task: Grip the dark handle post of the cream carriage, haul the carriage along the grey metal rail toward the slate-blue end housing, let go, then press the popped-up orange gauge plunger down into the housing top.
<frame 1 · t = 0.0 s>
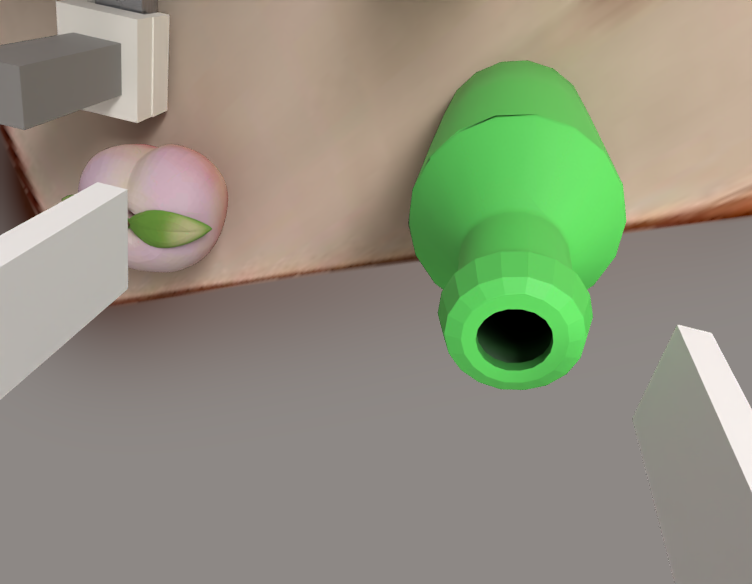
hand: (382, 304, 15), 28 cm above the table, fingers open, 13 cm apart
decorative fruit: (192, 183, 46), on the table
carriage: (72, 70, 37), point 7 cm above the table, slide at 0.0 cm
rail: (135, 5, 41), on the table
bottle: (513, 131, 41), on the table
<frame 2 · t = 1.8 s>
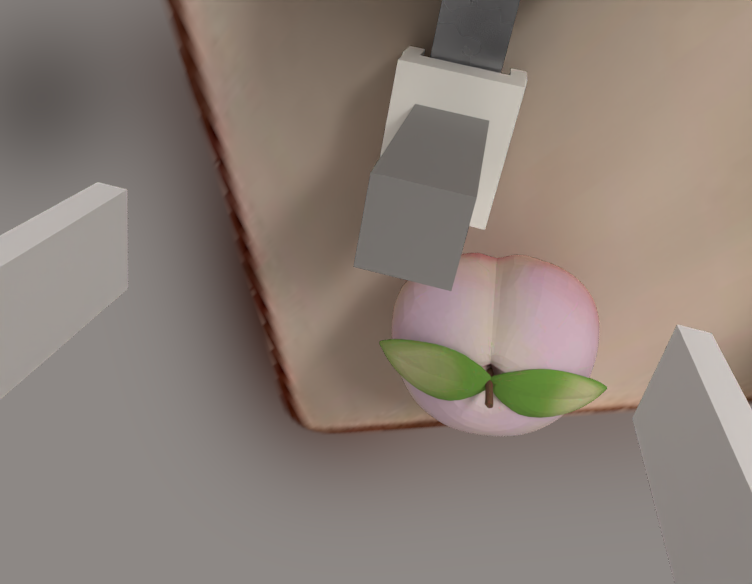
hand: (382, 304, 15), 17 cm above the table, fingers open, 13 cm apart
decorative fruit: (496, 291, 34), on the table
carriage: (436, 167, 24), point 7 cm above the table, slide at 0.0 cm
rail: (468, 56, 29), on the table
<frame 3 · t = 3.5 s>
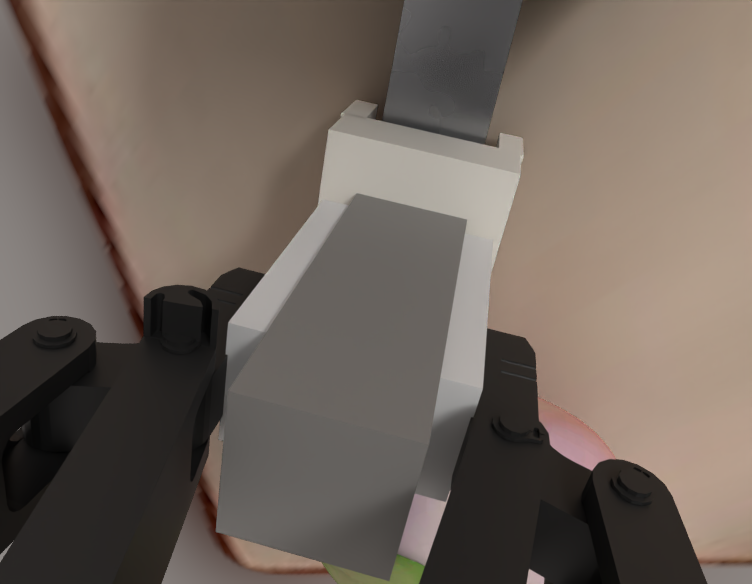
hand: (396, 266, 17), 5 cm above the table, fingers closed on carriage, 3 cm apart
decorative fruit: (482, 416, 26), on the table
carriage: (384, 300, 16), point 7 cm above the table, slide at 0.0 cm, touching gripper
rail: (440, 114, 20), on the table
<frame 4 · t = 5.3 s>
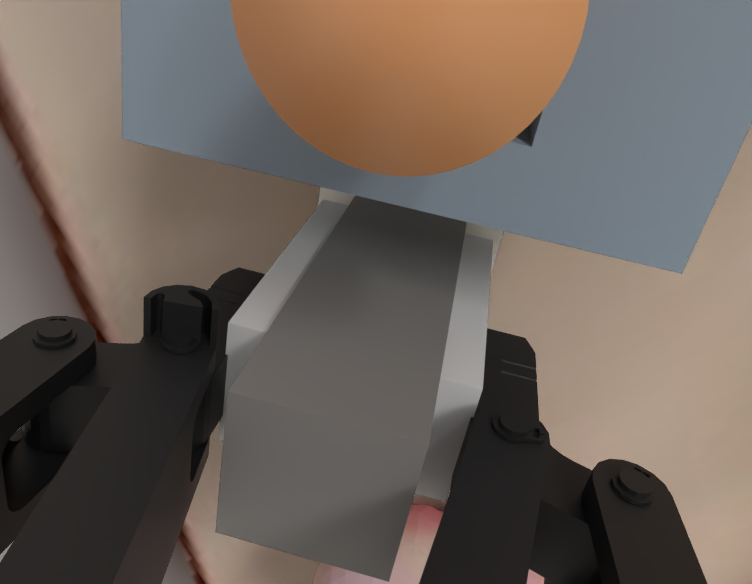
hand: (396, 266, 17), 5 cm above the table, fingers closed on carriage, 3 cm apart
decorative fruit: (447, 520, 28), on the table
carriage: (384, 300, 16), point 7 cm above the table, slide at 5.9 cm, touching gripper
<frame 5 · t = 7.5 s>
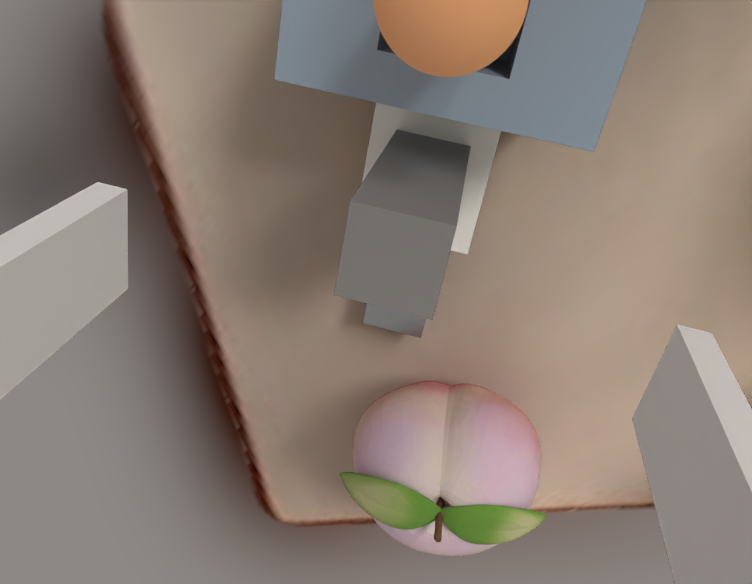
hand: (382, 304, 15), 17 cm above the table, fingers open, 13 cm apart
decorative fruit: (453, 404, 37), on the table
carriage: (418, 193, 24), point 7 cm above the table, slide at 6.0 cm
rail: (421, 206, 32), on the table
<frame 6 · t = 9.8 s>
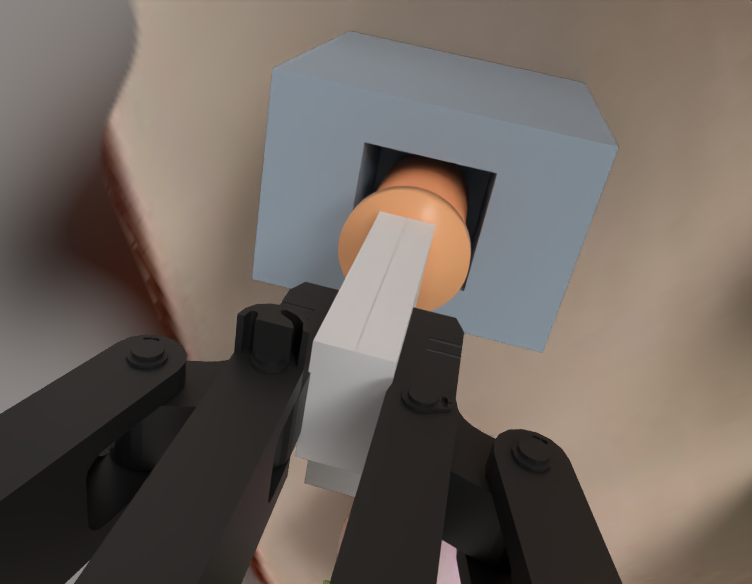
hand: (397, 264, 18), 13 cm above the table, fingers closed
decorative fruit: (435, 496, 39), on the table
carriage: (389, 352, 26), point 7 cm above the table, slide at 6.0 cm
housing: (446, 138, 29), on the table
plunger: (415, 223, 20), point 10 cm above the table, slide at 0.8 cm, touching gripper
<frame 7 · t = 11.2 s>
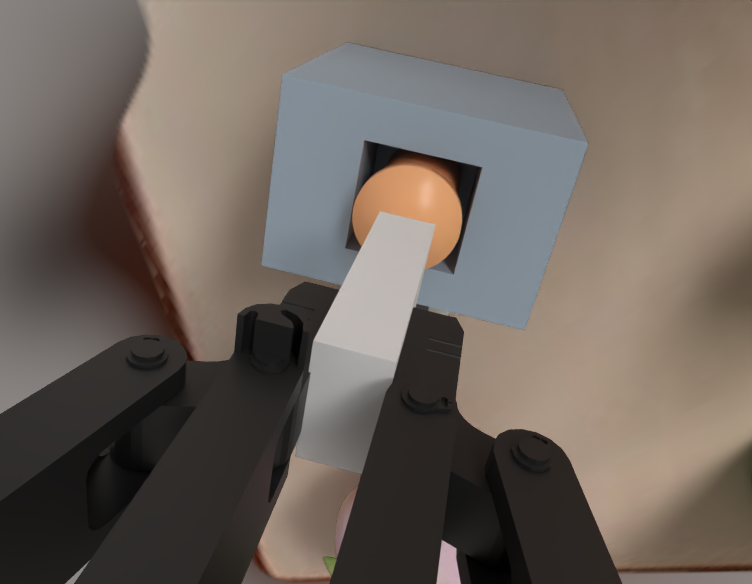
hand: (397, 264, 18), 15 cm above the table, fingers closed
decorative fruit: (427, 481, 41), on the table
carriage: (385, 336, 28), point 7 cm above the table, slide at 6.0 cm
housing: (436, 140, 31), on the table
plunger: (415, 197, 24), point 9 cm above the table, slide at 2.4 cm
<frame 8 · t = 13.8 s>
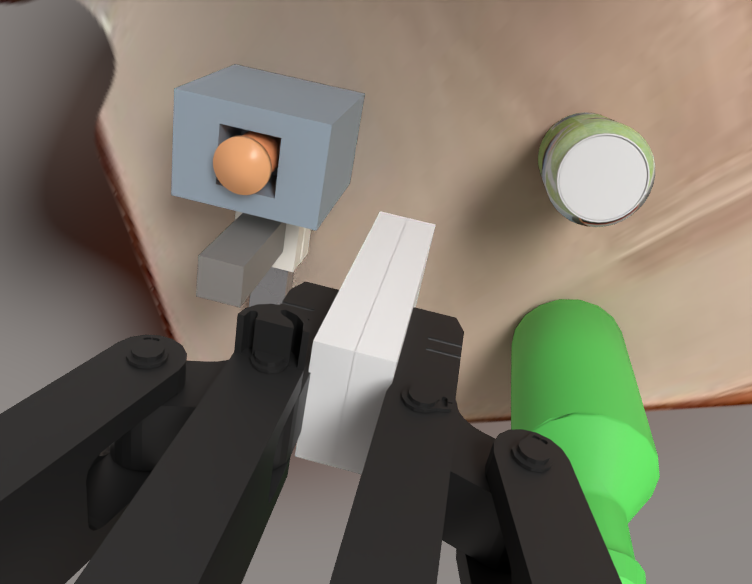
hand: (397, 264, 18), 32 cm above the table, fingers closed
carriage: (254, 243, 47), point 7 cm above the table, slide at 6.0 cm
housing: (293, 125, 50), on the table
rail: (280, 242, 55), on the table
beverage can: (581, 142, 47), on the table
bottle: (565, 339, 54), on the table
plunger: (254, 156, 42), point 9 cm above the table, slide at 2.4 cm
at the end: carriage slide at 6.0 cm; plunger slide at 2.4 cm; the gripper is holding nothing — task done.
